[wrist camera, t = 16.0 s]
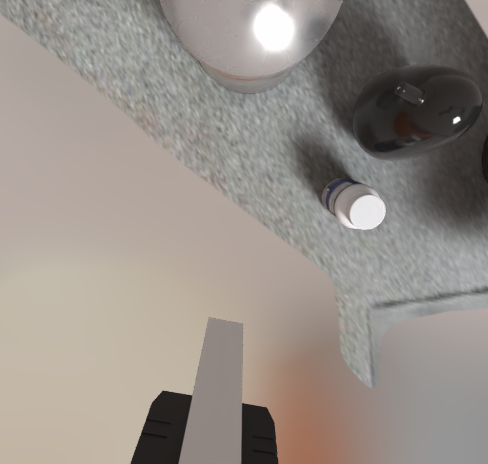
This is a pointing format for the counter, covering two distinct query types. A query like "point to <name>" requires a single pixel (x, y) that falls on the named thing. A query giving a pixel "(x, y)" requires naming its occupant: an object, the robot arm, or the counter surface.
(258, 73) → the lid
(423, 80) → the pump dispenser
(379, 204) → the pill bottle
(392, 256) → the counter surface
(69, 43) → the counter surface
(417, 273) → the counter surface
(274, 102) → the counter surface
